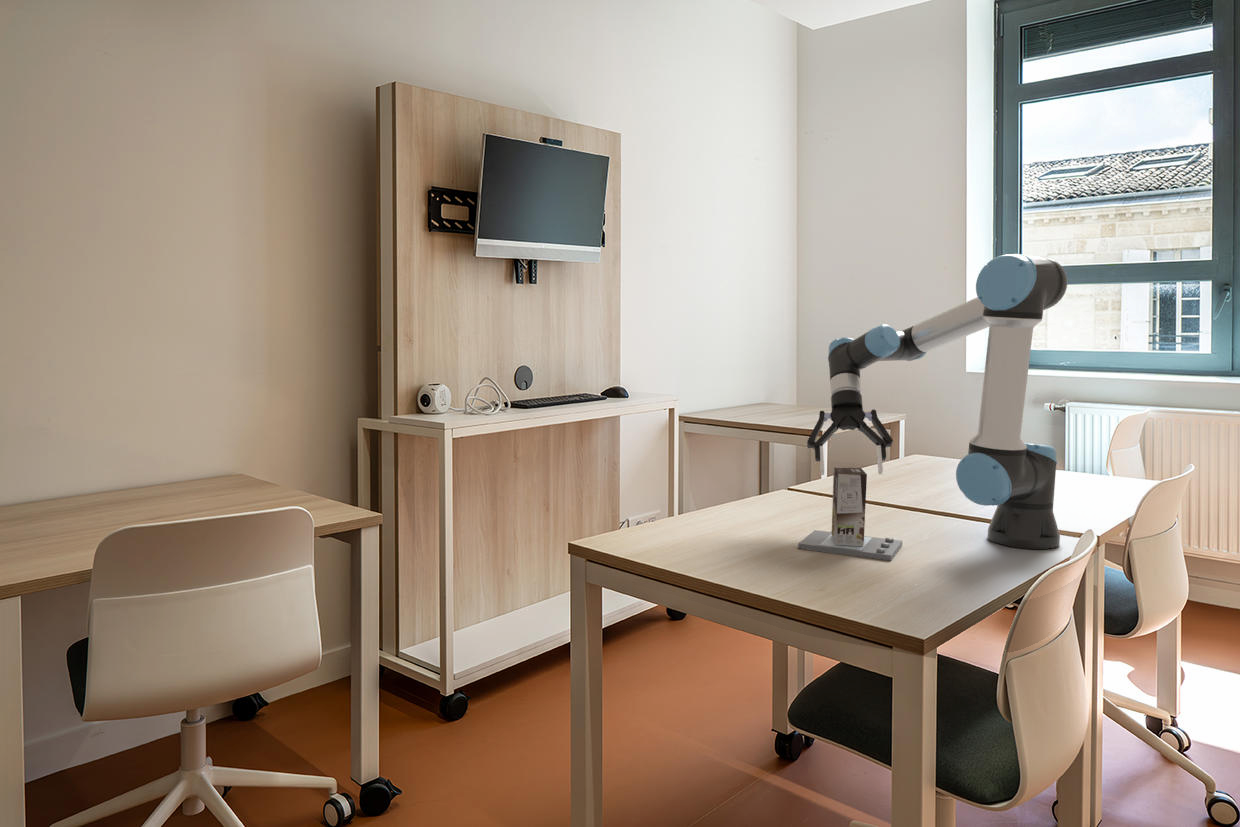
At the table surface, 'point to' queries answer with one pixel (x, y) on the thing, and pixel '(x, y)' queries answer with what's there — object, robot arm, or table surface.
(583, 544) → the table surface
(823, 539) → the control panel
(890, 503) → the table surface
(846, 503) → the coffee box
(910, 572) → the table surface
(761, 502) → the table surface
